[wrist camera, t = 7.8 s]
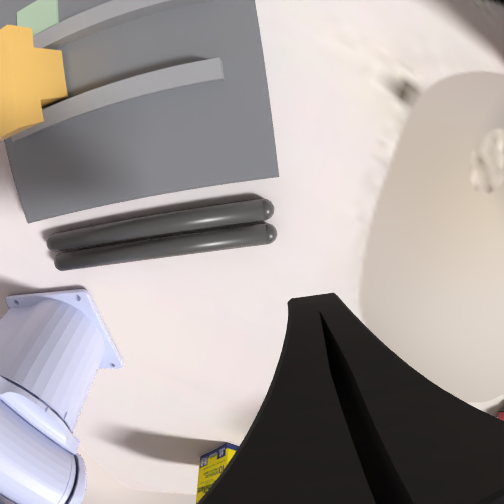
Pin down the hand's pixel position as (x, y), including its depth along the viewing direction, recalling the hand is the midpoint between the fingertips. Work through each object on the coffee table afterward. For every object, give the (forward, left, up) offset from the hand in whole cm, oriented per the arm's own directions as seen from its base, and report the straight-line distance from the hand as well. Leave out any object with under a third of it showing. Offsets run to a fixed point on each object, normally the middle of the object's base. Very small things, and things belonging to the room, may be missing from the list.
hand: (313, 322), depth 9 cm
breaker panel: (-8, +8, -10) cm, 15 cm away
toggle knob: (-12, +10, -9) cm, 18 cm away
